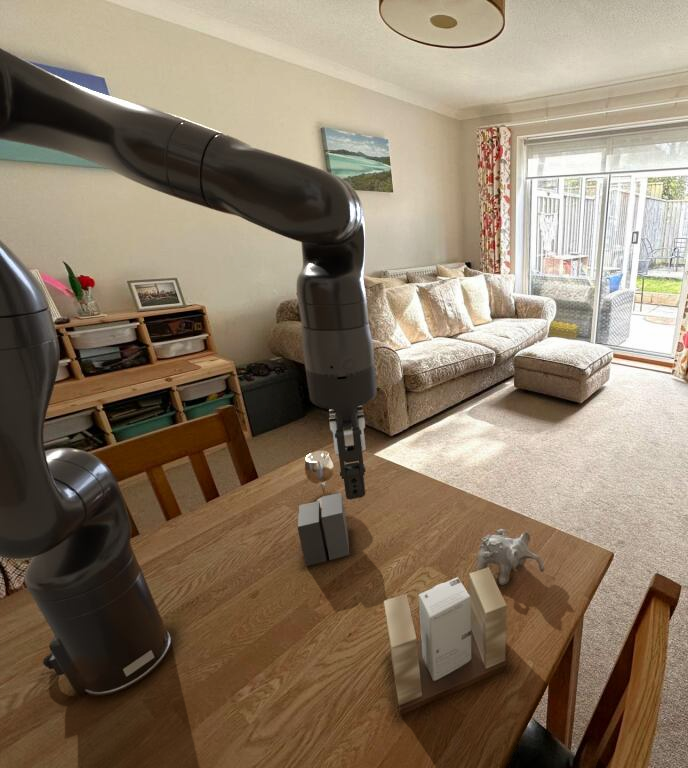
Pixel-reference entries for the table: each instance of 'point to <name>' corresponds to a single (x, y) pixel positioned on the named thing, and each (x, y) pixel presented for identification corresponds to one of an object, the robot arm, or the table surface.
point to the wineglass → (319, 469)
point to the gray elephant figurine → (505, 553)
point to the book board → (485, 646)
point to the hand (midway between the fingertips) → (354, 477)
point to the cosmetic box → (445, 627)
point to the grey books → (323, 530)
